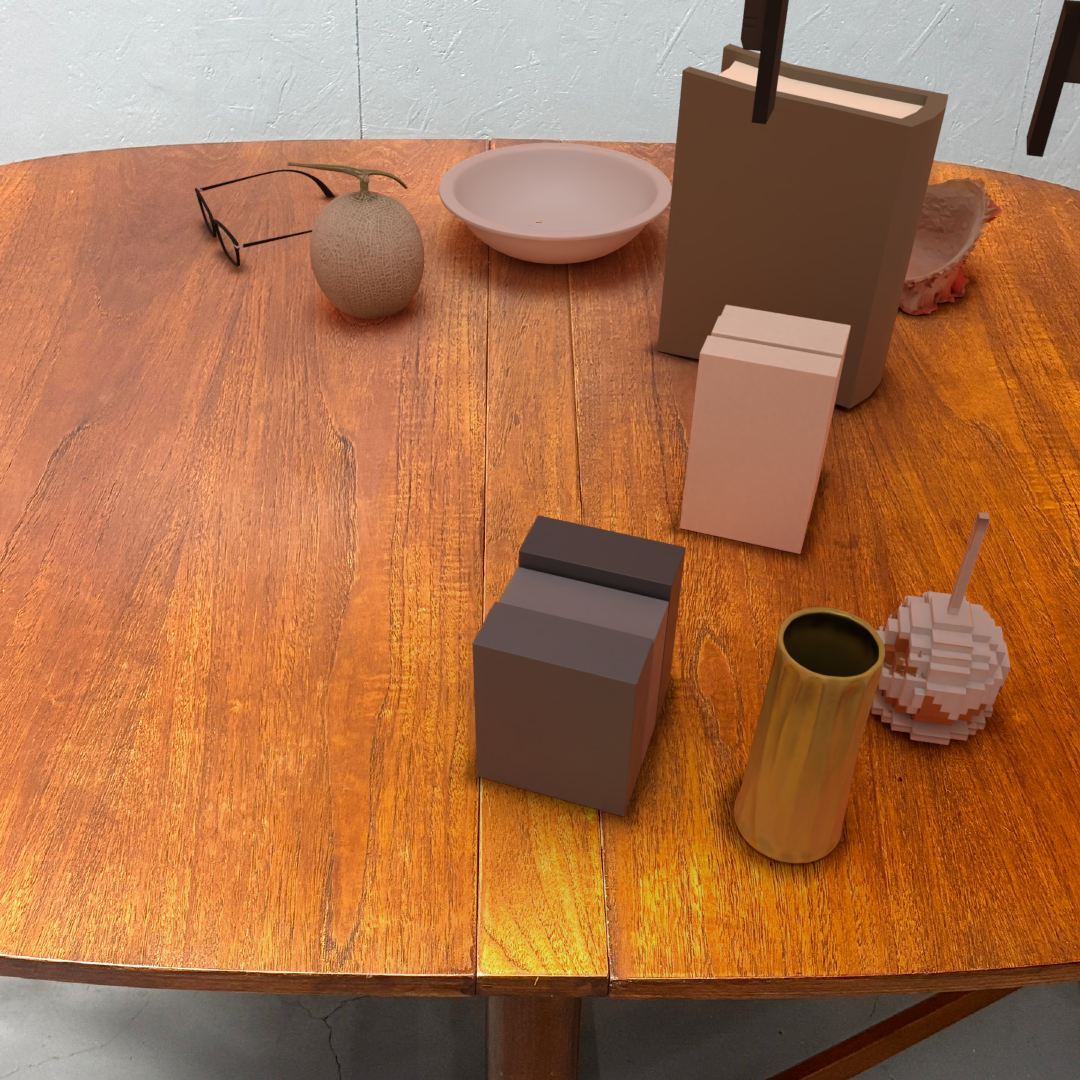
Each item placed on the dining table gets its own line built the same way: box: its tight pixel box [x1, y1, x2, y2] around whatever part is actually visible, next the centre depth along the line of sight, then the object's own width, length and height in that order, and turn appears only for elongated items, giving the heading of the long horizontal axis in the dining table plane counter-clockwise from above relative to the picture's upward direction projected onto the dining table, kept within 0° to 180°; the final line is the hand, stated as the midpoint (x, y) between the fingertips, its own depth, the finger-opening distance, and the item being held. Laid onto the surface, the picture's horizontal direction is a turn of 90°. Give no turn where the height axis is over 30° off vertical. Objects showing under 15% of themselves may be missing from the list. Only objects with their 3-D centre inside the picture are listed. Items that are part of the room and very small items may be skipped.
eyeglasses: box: [194, 169, 336, 268], centre depth 122 cm, size 16×16×4 cm
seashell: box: [899, 177, 1003, 316], centre depth 114 cm, size 17×11×15 cm
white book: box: [679, 335, 842, 555], centre depth 81 cm, size 2×9×15 cm, turn 72°
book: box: [657, 43, 949, 410], centre depth 96 cm, size 19×8×25 cm, turn 57°
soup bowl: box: [438, 142, 672, 265], centre depth 120 cm, size 24×24×7 cm
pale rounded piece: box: [871, 511, 1011, 746], centre depth 68 cm, size 8×8×15 cm
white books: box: [711, 305, 851, 522], centre depth 85 cm, size 6×9×14 cm
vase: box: [733, 606, 885, 864], centre depth 61 cm, size 6×6×14 cm
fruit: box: [287, 161, 425, 320], centre depth 106 cm, size 10×12×15 cm
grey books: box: [471, 514, 687, 817], centre depth 67 cm, size 11×9×12 cm
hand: (894, 131), depth 59 cm, fingers open, 13 cm apart
